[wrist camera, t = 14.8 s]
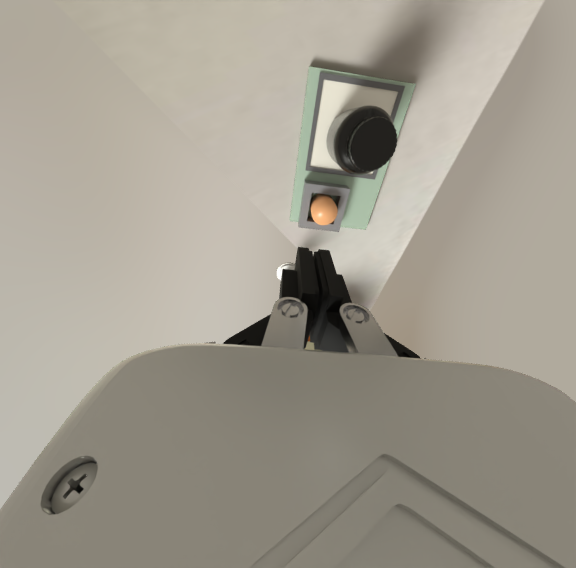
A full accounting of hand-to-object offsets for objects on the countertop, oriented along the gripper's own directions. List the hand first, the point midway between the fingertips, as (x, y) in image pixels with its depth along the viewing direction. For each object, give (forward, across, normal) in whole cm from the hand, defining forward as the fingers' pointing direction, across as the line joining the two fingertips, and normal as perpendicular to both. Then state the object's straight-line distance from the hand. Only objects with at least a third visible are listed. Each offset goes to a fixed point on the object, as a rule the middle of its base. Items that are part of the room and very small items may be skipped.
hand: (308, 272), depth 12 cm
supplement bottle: (+28, -7, -6) cm, 30 cm away
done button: (+28, -5, +4) cm, 29 cm away
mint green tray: (+29, -7, -2) cm, 30 cm away
